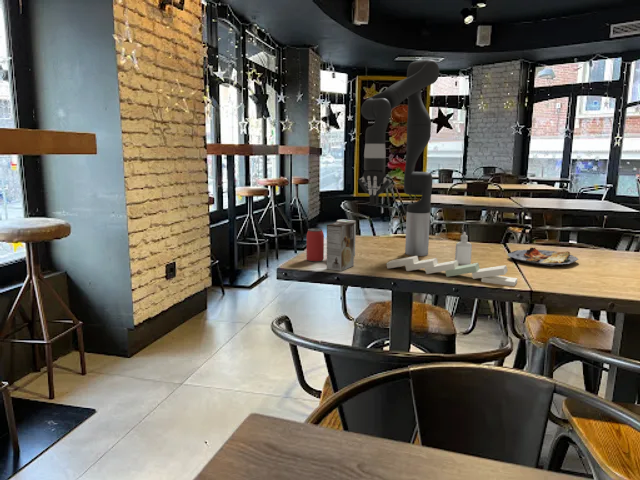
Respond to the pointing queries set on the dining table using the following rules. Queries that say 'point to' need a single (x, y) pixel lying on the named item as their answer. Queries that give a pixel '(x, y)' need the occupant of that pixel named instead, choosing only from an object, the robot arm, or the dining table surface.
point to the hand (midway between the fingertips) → (373, 205)
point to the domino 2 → (422, 264)
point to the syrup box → (354, 228)
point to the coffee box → (340, 245)
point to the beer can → (315, 245)
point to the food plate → (543, 257)
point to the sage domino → (463, 269)
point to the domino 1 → (402, 262)
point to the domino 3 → (442, 267)
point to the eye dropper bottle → (463, 251)
